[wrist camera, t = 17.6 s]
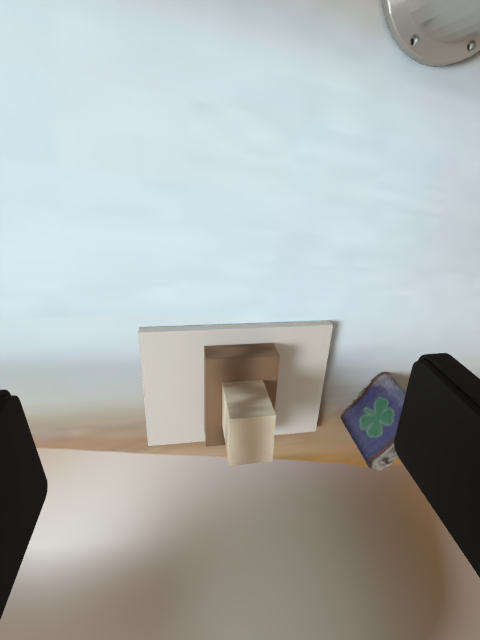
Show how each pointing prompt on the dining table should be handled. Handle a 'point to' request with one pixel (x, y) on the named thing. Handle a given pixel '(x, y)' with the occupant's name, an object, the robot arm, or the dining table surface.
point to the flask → (376, 420)
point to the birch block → (247, 422)
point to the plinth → (235, 378)
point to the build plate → (188, 374)
